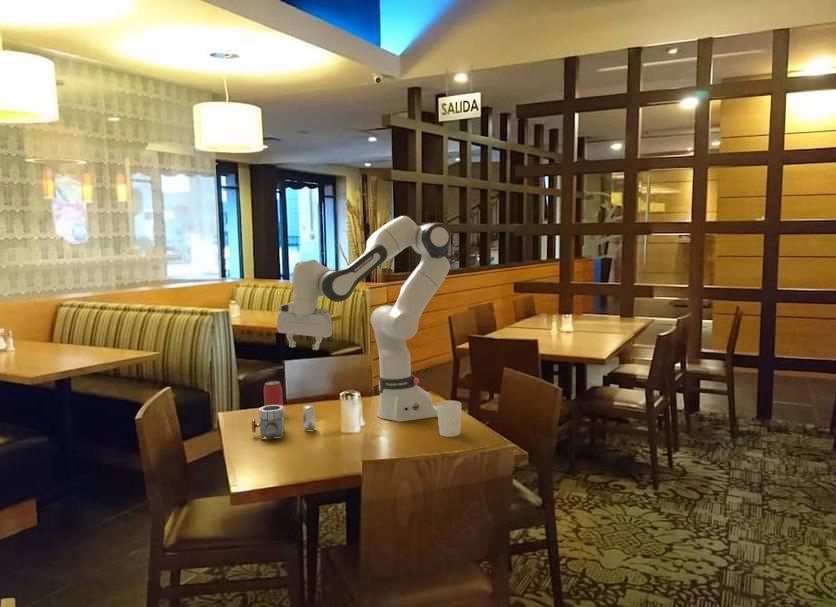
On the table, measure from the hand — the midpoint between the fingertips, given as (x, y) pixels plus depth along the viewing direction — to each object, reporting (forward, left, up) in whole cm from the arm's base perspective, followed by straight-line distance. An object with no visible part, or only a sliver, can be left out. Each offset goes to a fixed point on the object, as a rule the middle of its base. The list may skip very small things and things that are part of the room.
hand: (303, 348), depth 216 cm
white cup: (-46, +21, -27) cm, 57 cm away
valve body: (+13, +7, -27) cm, 31 cm away
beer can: (+12, -17, -27) cm, 35 cm away
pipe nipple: (-1, +5, -27) cm, 28 cm away
